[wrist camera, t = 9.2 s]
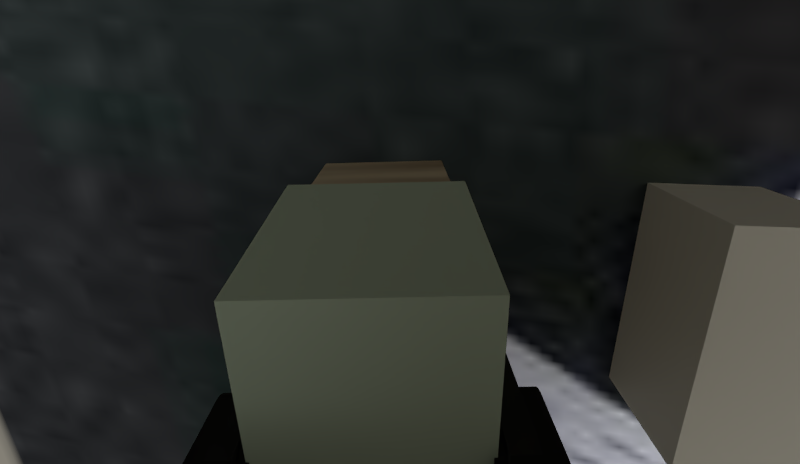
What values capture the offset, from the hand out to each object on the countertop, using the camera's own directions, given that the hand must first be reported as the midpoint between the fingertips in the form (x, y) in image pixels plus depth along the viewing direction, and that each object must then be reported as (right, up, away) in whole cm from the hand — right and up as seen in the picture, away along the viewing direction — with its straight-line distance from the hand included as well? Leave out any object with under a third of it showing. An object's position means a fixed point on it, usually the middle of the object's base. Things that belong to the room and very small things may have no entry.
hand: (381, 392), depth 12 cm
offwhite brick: (+11, +2, +7) cm, 13 cm away
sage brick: (0, +1, +1) cm, 2 cm away
